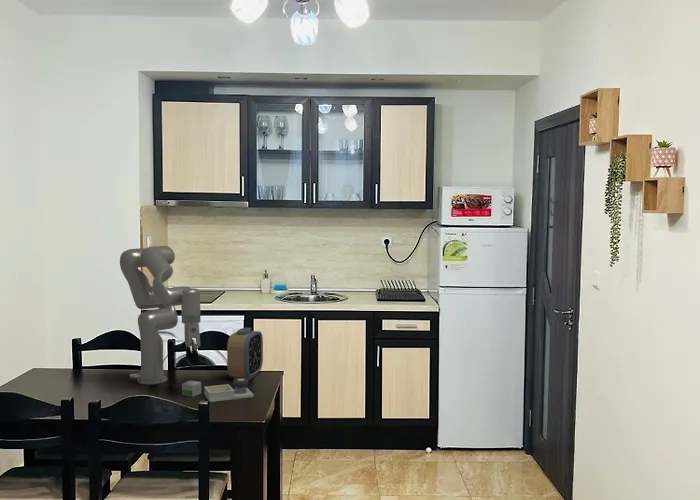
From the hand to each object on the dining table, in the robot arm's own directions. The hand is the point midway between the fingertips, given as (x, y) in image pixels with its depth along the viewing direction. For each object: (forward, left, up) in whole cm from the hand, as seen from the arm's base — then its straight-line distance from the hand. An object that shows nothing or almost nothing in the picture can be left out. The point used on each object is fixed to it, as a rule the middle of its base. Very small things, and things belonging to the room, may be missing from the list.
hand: (192, 360), depth 273 cm
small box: (0, 0, -15) cm, 15 cm away
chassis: (+13, -8, -14) cm, 21 cm away
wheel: (+18, -8, -13) cm, 24 cm away
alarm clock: (+27, +19, -14) cm, 36 cm away
